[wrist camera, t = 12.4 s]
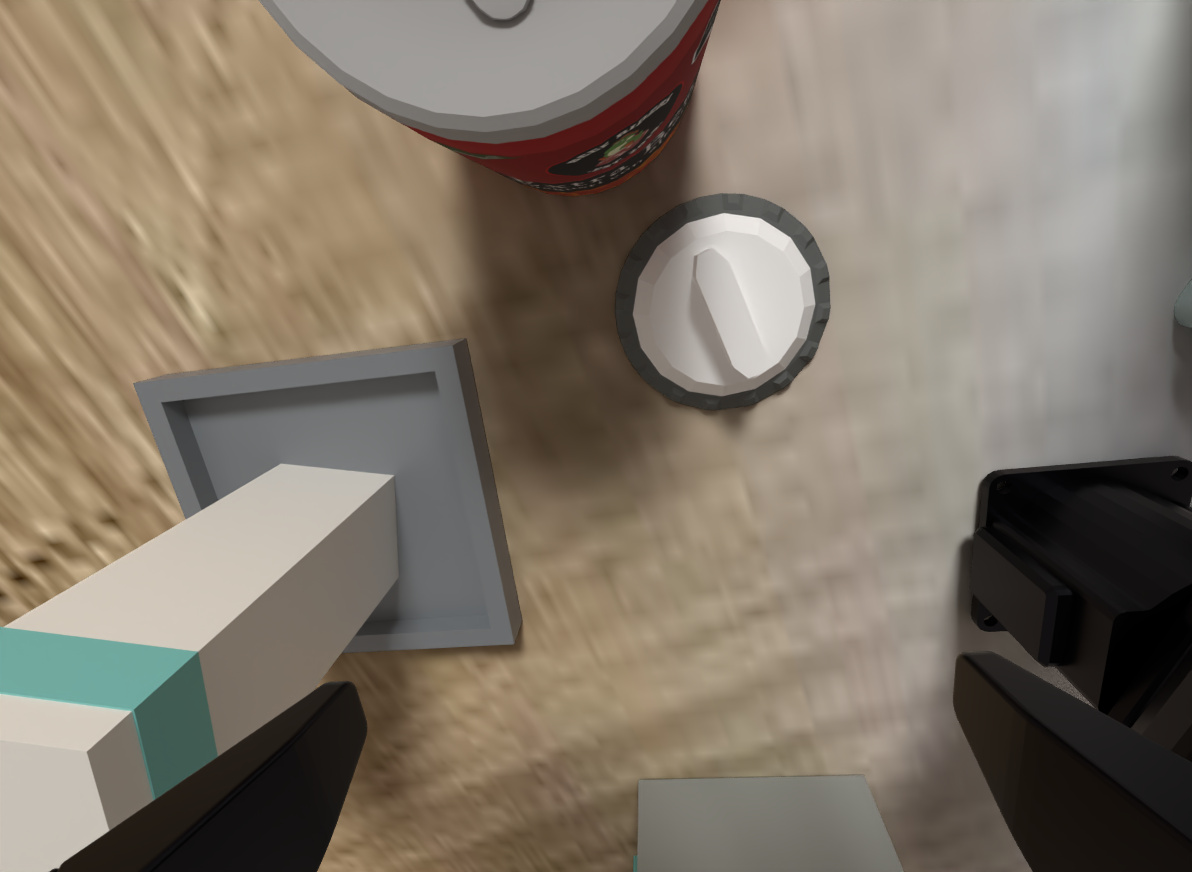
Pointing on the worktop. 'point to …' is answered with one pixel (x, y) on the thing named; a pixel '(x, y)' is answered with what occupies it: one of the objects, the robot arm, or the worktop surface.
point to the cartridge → (182, 652)
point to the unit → (762, 826)
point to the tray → (365, 444)
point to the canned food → (518, 77)
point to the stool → (1184, 307)
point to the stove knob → (722, 301)
